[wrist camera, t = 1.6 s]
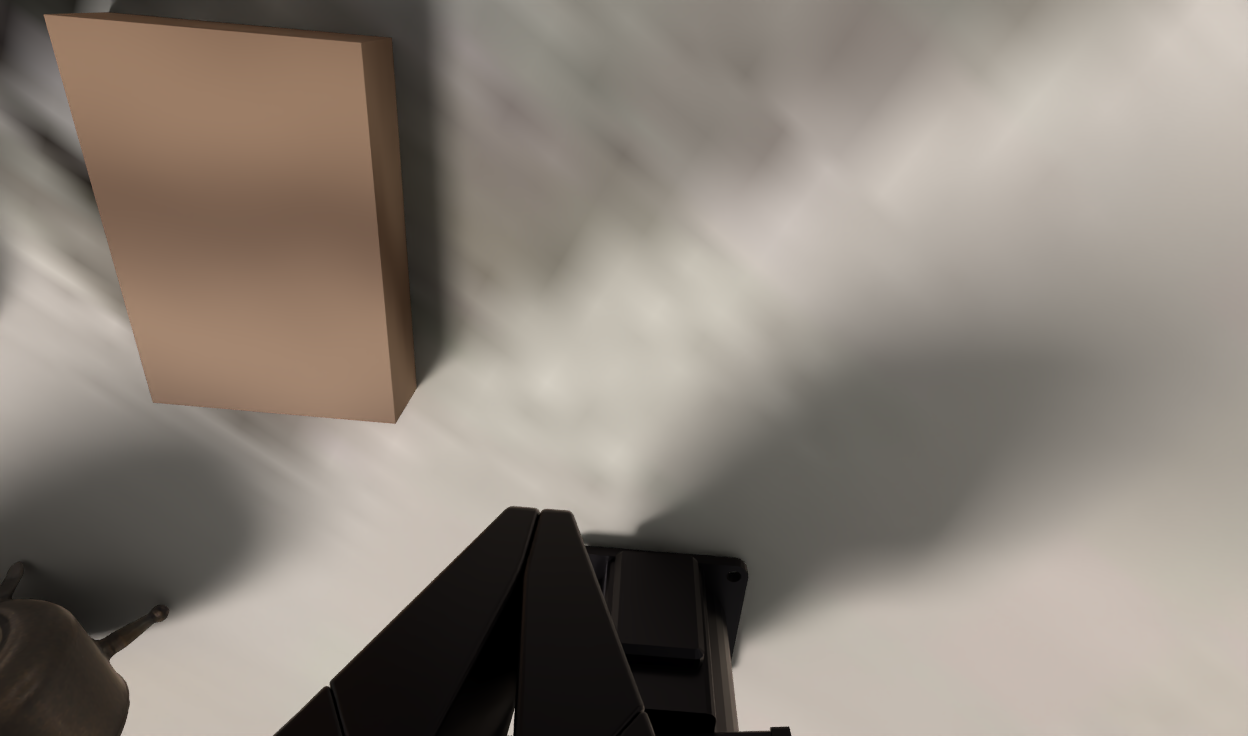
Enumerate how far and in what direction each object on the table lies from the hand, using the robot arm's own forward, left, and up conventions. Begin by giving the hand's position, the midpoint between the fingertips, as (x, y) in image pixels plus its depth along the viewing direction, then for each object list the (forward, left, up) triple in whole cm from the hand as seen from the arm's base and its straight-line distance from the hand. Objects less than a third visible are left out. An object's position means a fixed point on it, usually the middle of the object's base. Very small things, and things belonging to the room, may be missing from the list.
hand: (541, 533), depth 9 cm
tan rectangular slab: (0, +9, -12) cm, 15 cm away
